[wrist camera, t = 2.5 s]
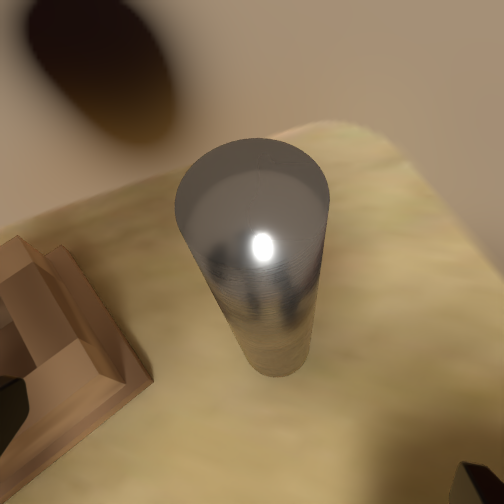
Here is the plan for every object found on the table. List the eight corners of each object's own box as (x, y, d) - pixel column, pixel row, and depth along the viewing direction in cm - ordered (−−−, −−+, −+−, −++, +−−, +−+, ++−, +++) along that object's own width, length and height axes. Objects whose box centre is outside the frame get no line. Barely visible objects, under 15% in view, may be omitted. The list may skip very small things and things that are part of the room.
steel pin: (272, 392, 19) (237, 301, 7) (230, 339, 20) (146, 193, 9) (323, 346, 20) (363, 200, 8) (279, 298, 21) (261, 116, 10)
